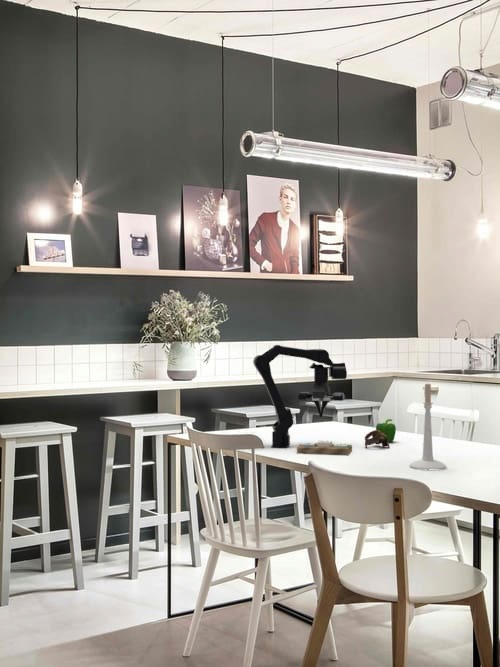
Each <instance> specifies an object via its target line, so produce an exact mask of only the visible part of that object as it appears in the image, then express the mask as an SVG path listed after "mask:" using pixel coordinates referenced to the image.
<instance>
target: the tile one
mask: <svg viewBox="0 0 500 667" xmlns="http://www.w3.org/2000/svg"><path fill="white" fill-rule="evenodd" d="M316 444H317V443H316V442H302V443H301V444H300V445H301V446H305V447H315V446H316Z"/></svg>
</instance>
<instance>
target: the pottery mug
mask: <svg viewBox="0 0 500 667" xmlns="http://www.w3.org/2000/svg"><path fill="white" fill-rule="evenodd" d="M370 437H371V438H370ZM364 440H365V441H364V446H365V448H366V449H367V448H368V446H372V445H374V444H375V445H379V446H380V445H381V446H382V448H383V447H387V448H388V449H390V448H391V447H390V442H388V439H387V437H386V436H385V434H383V433H381V432H380V430H376V429H375V430H372V431H370V432H368V433H367V434H366V435H365V436H364Z"/></svg>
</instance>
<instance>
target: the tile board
mask: <svg viewBox="0 0 500 667" xmlns="http://www.w3.org/2000/svg"><path fill="white" fill-rule="evenodd" d="M335 444H336V443H335ZM335 444H334V443H332V447H317V443H316V446H315V447H305V446H301V444H299V445H298V446H296V454H297V453H303V454H304V455H324V456H325V455H329V456H349V455H350V454H351V453H352V451H353V444H348V448H334V445H335ZM303 454H302V455H303Z"/></svg>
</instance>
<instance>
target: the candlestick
mask: <svg viewBox="0 0 500 667" xmlns="http://www.w3.org/2000/svg"><path fill="white" fill-rule="evenodd" d="M431 386H432V385H431V383H425V384H424V402H422V403H423V408H424V409H425V413H424V427H423V428H424V429H423V445H422V458H421V459H418V460H414V461H412V462H411V463H410V464H409V466H408V467H409V468H410V469H414V470H418V469H427V470H426V471H430V470H429V469H443V470H446V469H447V465H446V464H445V463H443V462H442V461H439V460H437V459H434V456H433V454H434V453H433V434H432V432H433V431H432V415H431V414H432V413H431V409H432V408H433V406H432V405H433V402H432V399H431V398H432V397H431V396H432V395H431V394H432V393H431V392H432V387H431ZM445 468H446V469H445Z"/></svg>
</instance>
